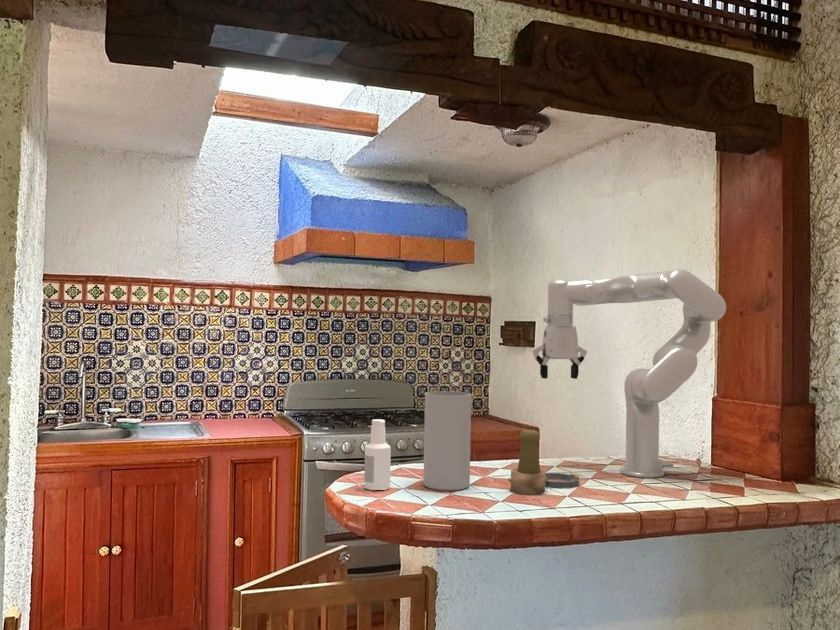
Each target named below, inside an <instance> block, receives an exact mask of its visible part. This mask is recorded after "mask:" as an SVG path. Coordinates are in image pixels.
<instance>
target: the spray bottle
mask: <svg viewBox="0 0 840 630" xmlns="http://www.w3.org/2000/svg"><path fill="white" fill-rule="evenodd" d="M386 439H387V438H386V420H385V419H381V418H379V419H377V418H376V419H374V418H373V419H372V420H371V428H370V439H369V440H370V442H369V443H368V444H366V445H365V446H364V472H363V473H364V480H363V481H364V482H363V488H364V489H365V488H366V489H370V490H385V491H388V490H390V488H391V460H392V459H391V453H392V451H391V450H392V448H391V445H390V444H388V443H387V442H386ZM366 489H365V490H366ZM387 489H388V490H387ZM370 490H369V491H370Z"/></svg>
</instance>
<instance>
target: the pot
mask: <svg viewBox="0 0 840 630" xmlns="http://www.w3.org/2000/svg"><path fill="white" fill-rule="evenodd" d="M545 473H546V472H545V471H544V470H541V469H540V473H538V474H524V473H520V472H518V468H513V469H511V470H510V477H508V478H507V480H508V482H509V483H510V492H512V493H515V494H519V495H524V496H525V495H526V496H527V495H528V496H534V495H535V496H537V495H542V494H545V492H546V487H545V481H547V480H548V479H547V477H545Z"/></svg>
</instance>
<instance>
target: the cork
mask: <svg viewBox="0 0 840 630" xmlns="http://www.w3.org/2000/svg"><path fill="white" fill-rule="evenodd" d="M519 440H520V442H521V446H520V451H519V458H518V459H519V460H518V465H517V466H518V467H517V469H518V472H520V473H524V474H538V473H540V470H541V466H540V465H541V464H540V457H539V455H540V454H539V448H538V442H539V441H540V433H539V431H537V430H534V429H523V430H521V431H520V433H519Z"/></svg>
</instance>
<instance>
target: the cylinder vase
mask: <svg viewBox="0 0 840 630" xmlns="http://www.w3.org/2000/svg"><path fill="white" fill-rule="evenodd" d="M471 416H472V393H470V392H463V391H447V390H446V391H442V390H441V391H439V390H438V391H426V392H424V424H423V426H424V427H423V428H424V429H423V431H424V434H423V476H422V477H423V483H422V484H423V485H424V486H425V487H426V488H428V489H431V490H436V491H441V492H442V491H446V492H447V491H448V492H449V491H451V492H453V491H454V492H455V491H461V490H466V489H467V488H469V486H470V483H471V482H470V481H471V480H470V479H471V431H472V429H471V424H472V423H471V421H472V417H471Z"/></svg>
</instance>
